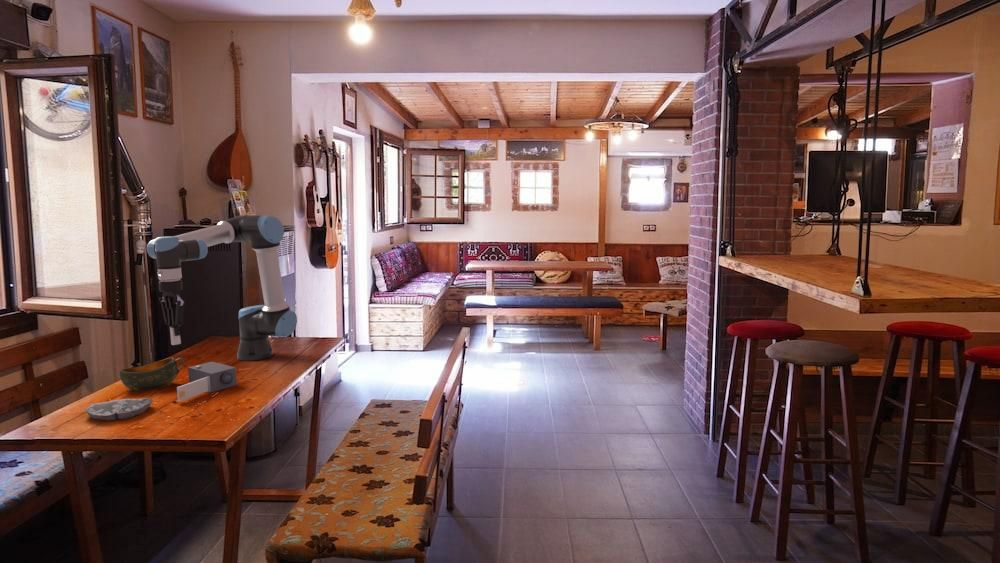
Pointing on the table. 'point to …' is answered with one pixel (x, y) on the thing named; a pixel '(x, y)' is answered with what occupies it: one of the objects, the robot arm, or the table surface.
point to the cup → (151, 375)
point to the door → (193, 388)
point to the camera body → (214, 375)
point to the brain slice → (118, 409)
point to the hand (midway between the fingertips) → (176, 344)
